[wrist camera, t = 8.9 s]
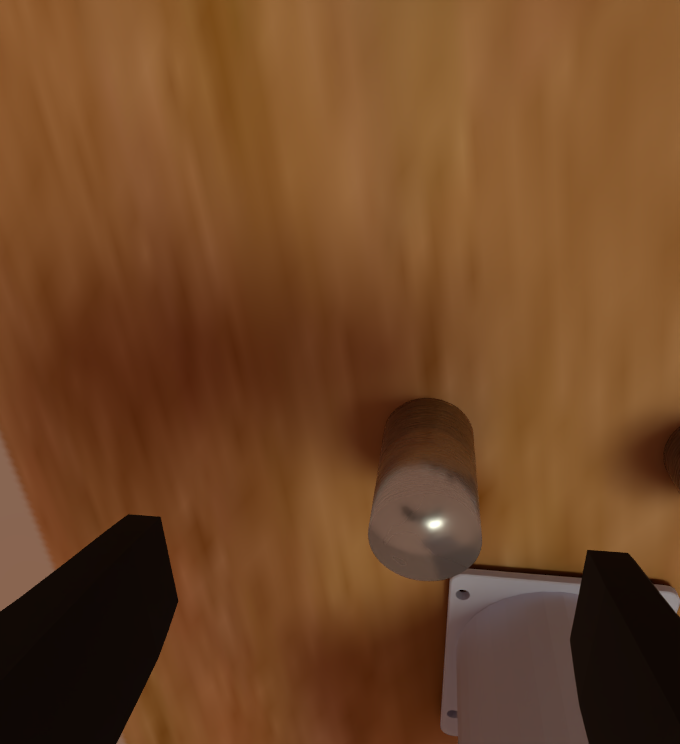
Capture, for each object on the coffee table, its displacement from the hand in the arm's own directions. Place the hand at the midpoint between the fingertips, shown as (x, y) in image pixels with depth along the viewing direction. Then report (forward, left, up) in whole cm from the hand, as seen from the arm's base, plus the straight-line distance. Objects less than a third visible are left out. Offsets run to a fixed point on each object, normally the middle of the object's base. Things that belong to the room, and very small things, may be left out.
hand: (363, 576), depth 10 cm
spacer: (-3, -1, -10) cm, 11 cm away
